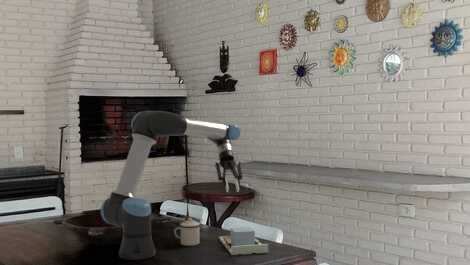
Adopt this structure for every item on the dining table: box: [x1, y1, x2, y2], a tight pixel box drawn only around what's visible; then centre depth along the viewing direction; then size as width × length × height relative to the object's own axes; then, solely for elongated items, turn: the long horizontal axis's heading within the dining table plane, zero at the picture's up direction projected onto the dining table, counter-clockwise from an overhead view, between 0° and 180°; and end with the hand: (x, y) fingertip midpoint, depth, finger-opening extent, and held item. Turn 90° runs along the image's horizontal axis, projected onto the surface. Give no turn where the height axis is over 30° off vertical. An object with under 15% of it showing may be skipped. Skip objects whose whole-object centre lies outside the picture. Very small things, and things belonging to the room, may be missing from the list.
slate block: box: [229, 226, 256, 246], centre depth 227 cm, size 9×9×8 cm
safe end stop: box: [230, 243, 269, 256], centre depth 214 cm, size 1×16×4 cm, turn 103°
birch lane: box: [218, 235, 262, 255], centre depth 228 cm, size 28×16×1 cm, turn 13°
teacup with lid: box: [173, 217, 201, 247], centre depth 232 cm, size 12×9×12 cm
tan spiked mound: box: [183, 203, 203, 227], centre depth 270 cm, size 15×10×13 cm
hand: (232, 190), depth 246 cm, fingers open, 4 cm apart
